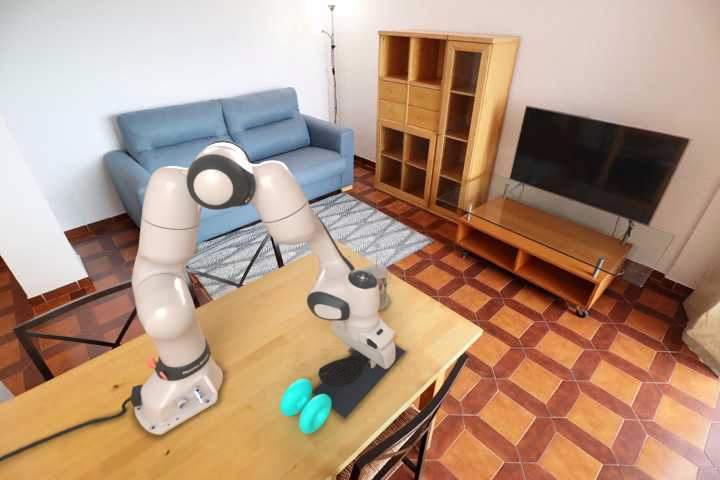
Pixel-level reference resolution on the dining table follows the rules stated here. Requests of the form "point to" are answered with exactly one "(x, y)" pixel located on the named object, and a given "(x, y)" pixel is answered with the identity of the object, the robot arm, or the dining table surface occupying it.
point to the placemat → (355, 386)
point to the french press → (380, 279)
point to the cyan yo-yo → (305, 405)
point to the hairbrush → (337, 366)
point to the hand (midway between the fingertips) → (361, 358)
